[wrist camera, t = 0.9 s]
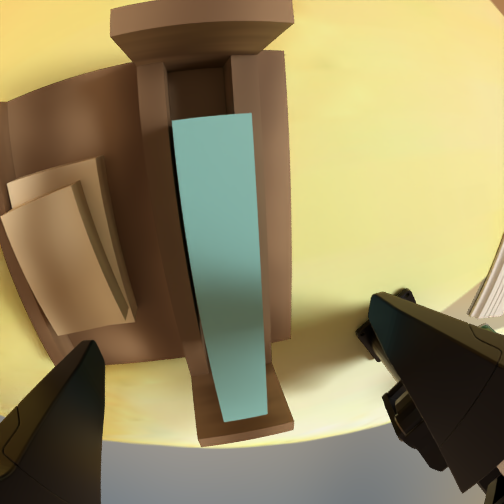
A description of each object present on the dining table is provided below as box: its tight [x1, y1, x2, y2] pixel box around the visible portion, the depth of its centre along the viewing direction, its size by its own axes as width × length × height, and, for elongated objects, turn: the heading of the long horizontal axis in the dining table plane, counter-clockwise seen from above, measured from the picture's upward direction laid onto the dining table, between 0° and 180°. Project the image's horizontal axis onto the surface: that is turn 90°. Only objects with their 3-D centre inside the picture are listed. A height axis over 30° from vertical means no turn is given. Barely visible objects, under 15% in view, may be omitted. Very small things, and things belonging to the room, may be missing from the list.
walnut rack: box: [0, 0, 294, 447], centre depth 14 cm, size 18×20×9 cm
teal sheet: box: [172, 113, 268, 422], centre depth 13 cm, size 2×12×9 cm, turn 4°
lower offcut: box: [7, 155, 138, 325], centre depth 15 cm, size 6×10×2 cm, turn 4°
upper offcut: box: [0, 180, 129, 336], centre depth 14 cm, size 5×8×1 cm, turn 11°
